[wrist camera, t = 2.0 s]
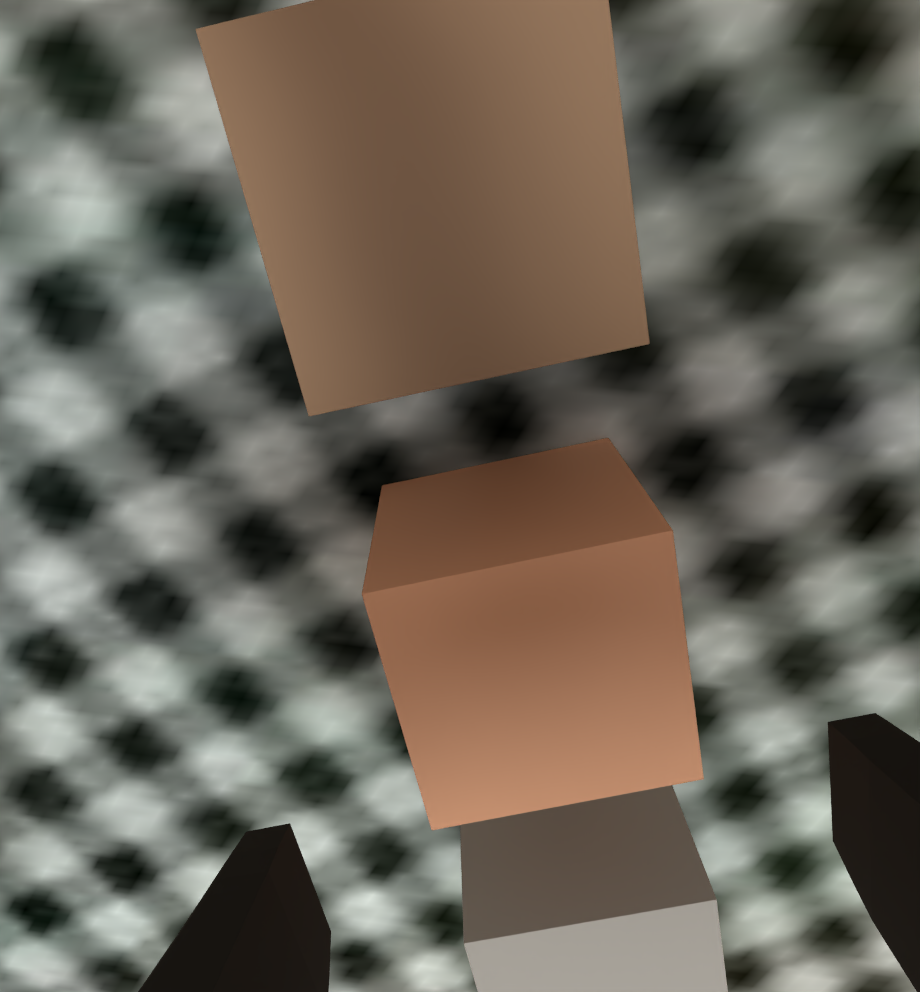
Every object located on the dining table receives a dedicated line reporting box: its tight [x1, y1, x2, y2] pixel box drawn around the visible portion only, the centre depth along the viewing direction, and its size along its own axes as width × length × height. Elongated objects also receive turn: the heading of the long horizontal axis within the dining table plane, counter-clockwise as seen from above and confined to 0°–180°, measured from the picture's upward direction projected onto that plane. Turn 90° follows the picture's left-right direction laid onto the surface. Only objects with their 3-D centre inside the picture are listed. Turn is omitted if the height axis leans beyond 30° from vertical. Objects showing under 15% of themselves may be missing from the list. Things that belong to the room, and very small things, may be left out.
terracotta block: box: [362, 438, 704, 830], centre depth 16 cm, size 5×5×5 cm
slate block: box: [460, 785, 728, 992], centre depth 18 cm, size 5×5×5 cm
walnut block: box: [196, 0, 650, 416], centre depth 13 cm, size 5×5×5 cm
